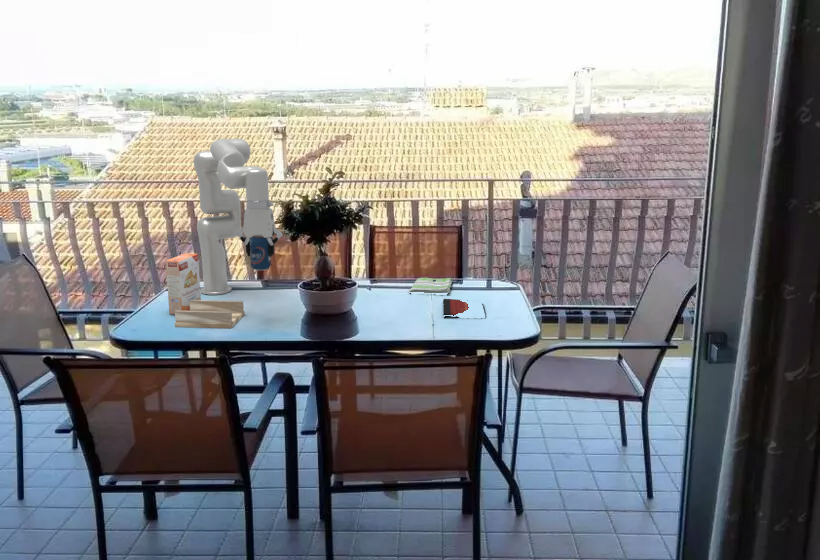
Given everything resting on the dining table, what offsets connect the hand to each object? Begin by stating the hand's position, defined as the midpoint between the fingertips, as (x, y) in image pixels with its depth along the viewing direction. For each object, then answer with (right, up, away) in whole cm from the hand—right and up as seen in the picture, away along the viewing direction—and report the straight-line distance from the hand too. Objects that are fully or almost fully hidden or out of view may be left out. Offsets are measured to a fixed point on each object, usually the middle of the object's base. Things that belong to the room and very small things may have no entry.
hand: (260, 255), depth 228 cm
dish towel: (+62, -13, +54) cm, 83 cm away
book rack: (-20, -24, +8) cm, 32 cm away
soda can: (0, -5, +1) cm, 5 cm away
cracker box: (-33, -20, +21) cm, 44 cm away
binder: (+73, -21, +22) cm, 79 cm away
